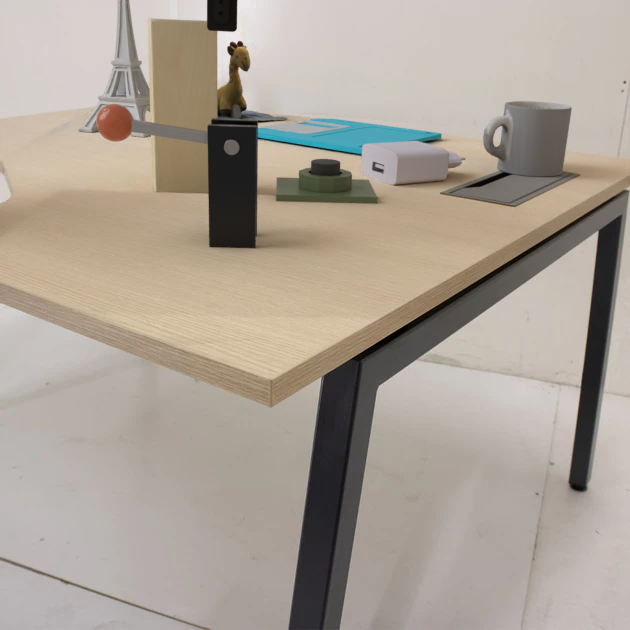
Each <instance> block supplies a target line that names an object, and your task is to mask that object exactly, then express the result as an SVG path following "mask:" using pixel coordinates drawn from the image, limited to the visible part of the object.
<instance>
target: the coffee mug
mask: <svg viewBox="0 0 630 630" xmlns="http://www.w3.org/2000/svg"><path fill="white" fill-rule="evenodd" d="M503 108H504V109H503V115H502V116H501V115H500V116H495V117H493V118H491V119H490V120H488V122H487V123H486V124H485V127H484V129H483V137H482V139H483V140H482V141H483V142H482V143H483V147H484V150H485V151H486V152H487V153H488V154H489V155H491V156H492V157H494V158H496V159H497V170H499V171H501V172H503V173H507V174H511V175H517V176H524V177H541V178H542V177H543V178H545V177H547V178H548V177H556V176H560V175H562V174H563V170H564V164H565V157H566V151H567V150H566V149H567V144H568V137H569V130H570V123H571V116H572V110H573V109H572V106H570V105H569V104H568V105H567V104H563V103H556V102H545V101H533V100H532V101H531V100H512V101H507V102H505V103H504V107H503ZM500 127H501V133H500V134H501V135H500V143H499V145H498V146H495V143H494V136H495V133H496V131H497V130H498V128H500Z"/></svg>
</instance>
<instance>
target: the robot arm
mask: <svg viewBox="0 0 630 630" xmlns="http://www.w3.org/2000/svg"><path fill="white" fill-rule="evenodd" d="M206 21H207V29H208V30H210V31H217V32H226V33H227V32H228V33H234V32H236V31H237V30H238V0H206Z"/></svg>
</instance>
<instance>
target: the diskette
mask: <svg viewBox="0 0 630 630" xmlns="http://www.w3.org/2000/svg"><path fill="white" fill-rule="evenodd" d="M258 139H264V140H270V141H271V140H273V141H277V142H285V143H290V144H296V145H297V144H298V145H303V146H309V147H315V148H321V149H327V150H333V151H339V152H340V151H341V152H344V153H345V152H346V153H352V154H358V155H362V147H363V145H364V144H369V143H387V142H405V141H419V142H423V143H424V142H428V141H431V140H440V139H442V133H441V132H434V131H428V130H420V129H413V128H412V129H411V128H405V127H398V126H390V125H383V124H376V123H369V122H360V121H353V120H345V119H339V118H311V119H303V120H297V121H289V122H283V123H277V124H270V125H262V126H260V127H258Z"/></svg>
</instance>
